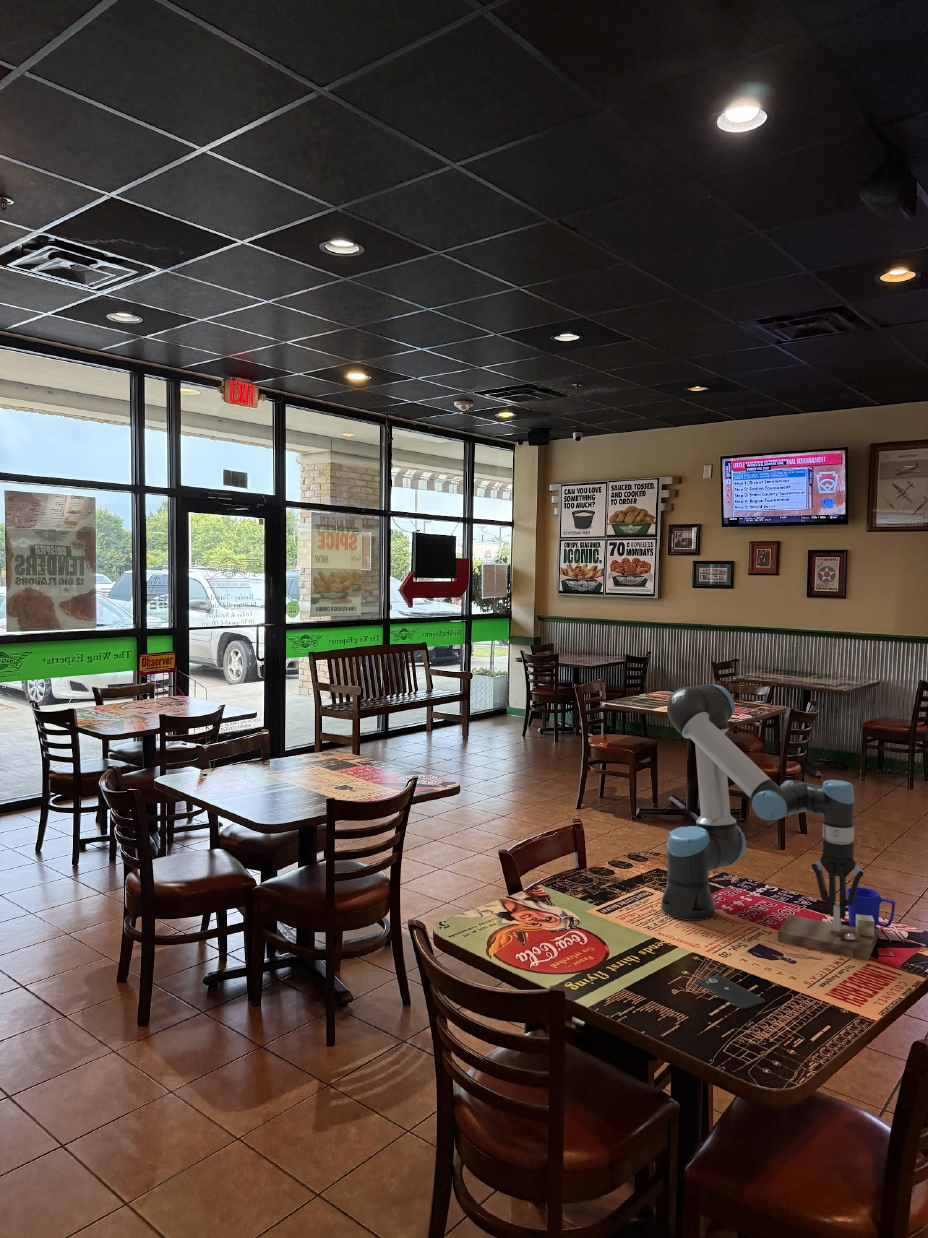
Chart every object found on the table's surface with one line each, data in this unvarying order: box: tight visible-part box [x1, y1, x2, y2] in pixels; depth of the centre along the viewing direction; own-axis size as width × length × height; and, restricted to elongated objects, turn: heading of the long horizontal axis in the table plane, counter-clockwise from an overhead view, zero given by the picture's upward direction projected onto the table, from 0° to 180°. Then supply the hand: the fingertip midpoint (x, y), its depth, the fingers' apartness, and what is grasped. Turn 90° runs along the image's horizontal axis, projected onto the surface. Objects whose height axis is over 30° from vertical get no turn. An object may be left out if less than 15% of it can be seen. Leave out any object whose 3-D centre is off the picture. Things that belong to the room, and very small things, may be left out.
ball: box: [844, 933, 857, 939], centre depth 223 cm, size 3×3×3 cm
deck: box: [777, 914, 878, 961], centre depth 226 cm, size 22×14×2 cm, turn 57°
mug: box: [846, 886, 896, 931], centre depth 233 cm, size 8×12×10 cm
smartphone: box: [696, 974, 766, 1010], centre depth 198 cm, size 8×15×1 cm, turn 27°
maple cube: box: [856, 914, 875, 937], centre depth 225 cm, size 4×4×4 cm
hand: (837, 929), depth 224 cm, fingers closed
